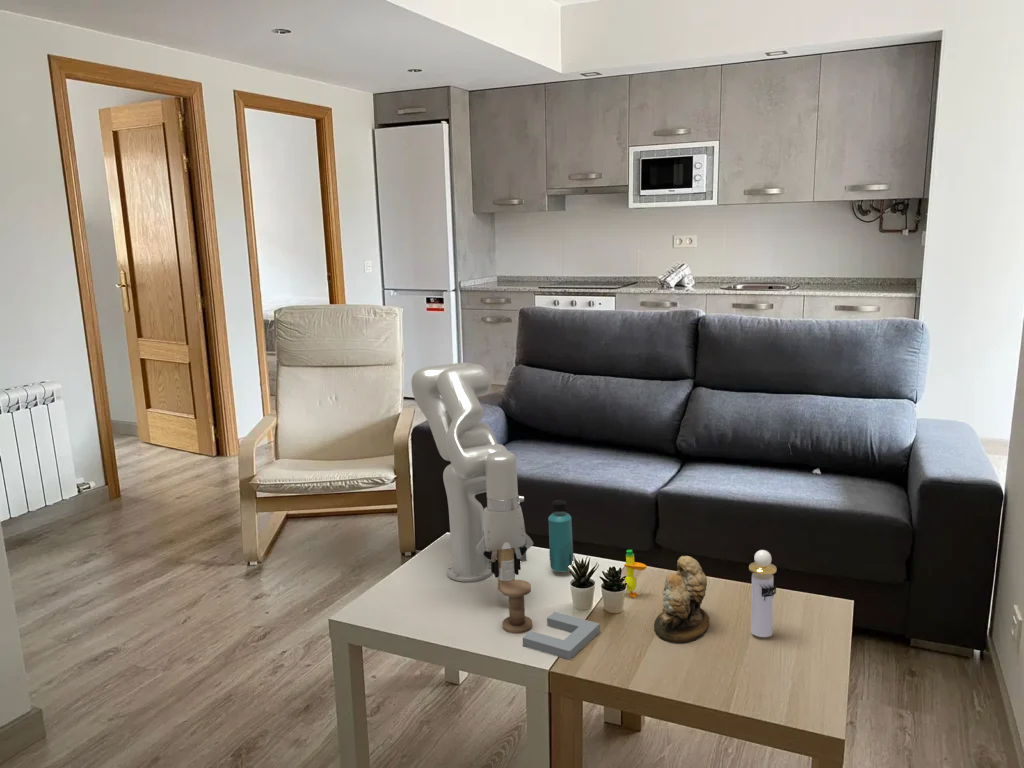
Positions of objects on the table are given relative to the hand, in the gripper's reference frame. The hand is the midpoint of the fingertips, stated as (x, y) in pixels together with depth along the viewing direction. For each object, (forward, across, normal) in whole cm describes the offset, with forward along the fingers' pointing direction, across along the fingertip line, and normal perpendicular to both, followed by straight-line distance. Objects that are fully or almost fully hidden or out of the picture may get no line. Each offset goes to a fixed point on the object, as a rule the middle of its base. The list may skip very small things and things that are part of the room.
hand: (506, 573), depth 194 cm
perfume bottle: (+9, -52, +30) cm, 61 cm away
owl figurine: (+9, -37, +21) cm, 43 cm away
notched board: (+9, -9, +19) cm, 23 cm away
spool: (+9, 0, +11) cm, 14 cm away
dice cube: (+9, -8, -28) cm, 30 cm away
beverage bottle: (+9, -18, -15) cm, 25 cm away
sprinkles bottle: (+5, 0, 0) cm, 5 cm away
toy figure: (+9, -31, +4) cm, 33 cm away
